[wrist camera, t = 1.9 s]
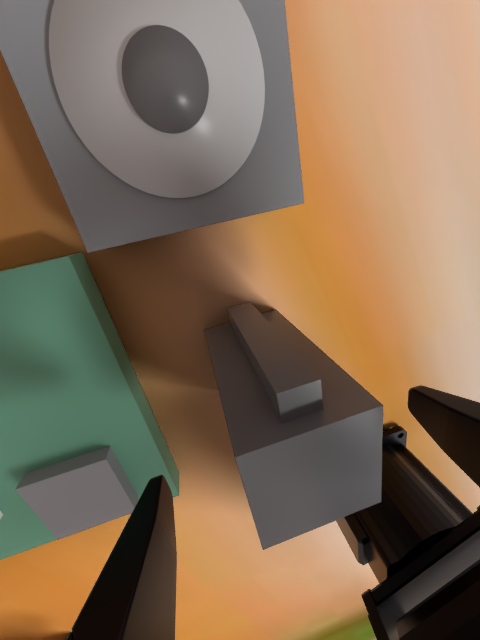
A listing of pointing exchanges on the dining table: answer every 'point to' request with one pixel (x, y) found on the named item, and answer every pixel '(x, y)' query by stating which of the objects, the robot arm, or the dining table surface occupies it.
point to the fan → (158, 109)
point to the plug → (294, 425)
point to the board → (68, 409)
